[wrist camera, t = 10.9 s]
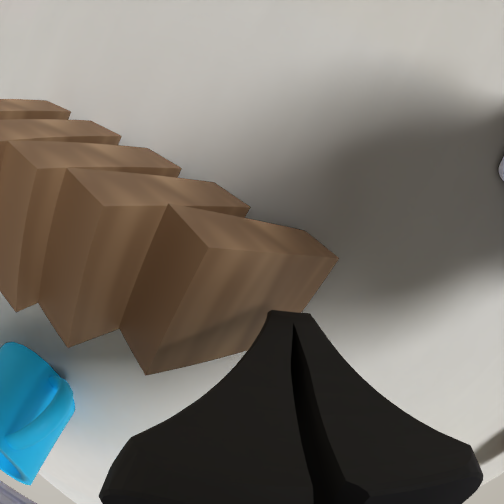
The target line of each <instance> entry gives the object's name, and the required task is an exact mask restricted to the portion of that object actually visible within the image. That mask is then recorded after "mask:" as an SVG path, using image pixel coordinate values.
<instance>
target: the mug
mask: <svg viewBox="0 0 504 504" xmlns="http://www.w3.org/2000/svg"><path fill="white" fill-rule="evenodd" d="M74 411H75V403H74V399H73V391H72V389H71V387H70V385H69V383H68V382H67V381H66V380H65V379H63V378H61V377H60V376H59V375H58V374H57V373H56V372H55V371H54V370H53V368H52V367H51V366H50V365H49V364H48V363H47V362H46V361H44V360H43V359H42V358H41V357H40V356H39V355H37V354H36V353H35V352H33V351H32V350H30V349H28V348H27V347H25V346H24V345H21V344H18V343H15V342H9V343H5V344H4V345H3V346H2V347H1V348H0V470H2V471H3V472H5V473H6V474H7V475H9V476H11V477H12V478H14V479H15V480H17V481H19V482H21V483H23V484H26V485H31V484H32V482H33V480H34V478H35V477H36V475H37V473H38V471H39V470H40V468H41V466H42V464H43V463H44V461H45V459H46V458H47V456H48V454H49V452H50V451H51V449H52V447H53V446H54V444H55V442H56V441H57V439H58V437H59V436H60V434H61V433H62V431H63V429H64V428H65V426H66V424H67V423H68V421H69V420H70V418H71V416H72V415H73V413H74Z"/></svg>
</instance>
